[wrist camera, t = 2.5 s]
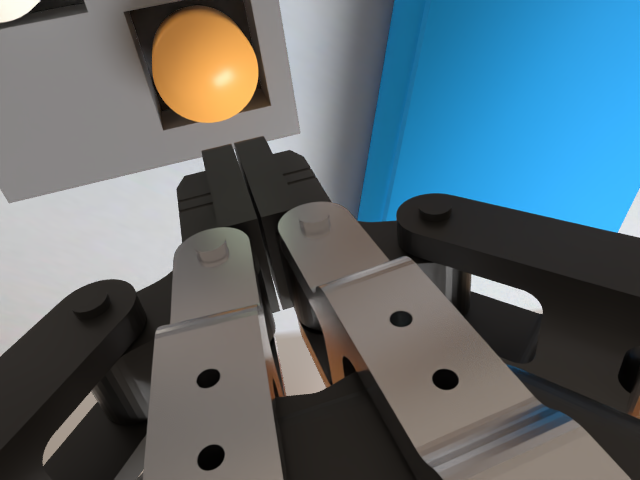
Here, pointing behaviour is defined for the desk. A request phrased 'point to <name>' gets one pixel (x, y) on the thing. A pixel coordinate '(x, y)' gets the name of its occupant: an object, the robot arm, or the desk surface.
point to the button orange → (203, 64)
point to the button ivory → (15, 8)
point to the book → (509, 108)
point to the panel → (115, 98)
